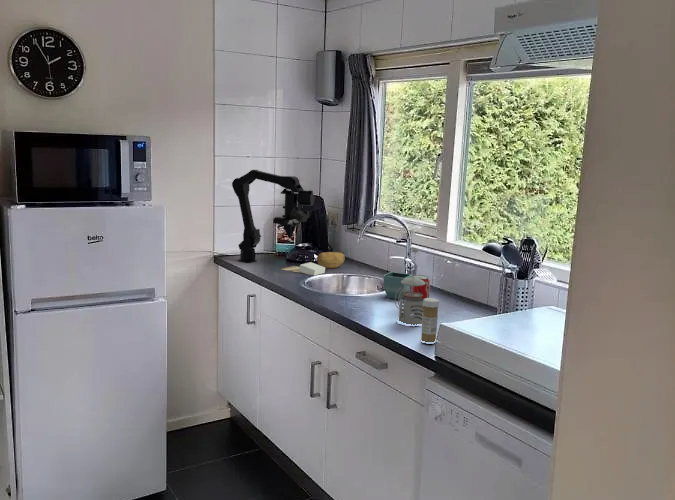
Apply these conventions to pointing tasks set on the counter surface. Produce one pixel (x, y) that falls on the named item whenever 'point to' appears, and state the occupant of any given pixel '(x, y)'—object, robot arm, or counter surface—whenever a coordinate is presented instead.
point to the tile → (311, 269)
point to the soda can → (422, 287)
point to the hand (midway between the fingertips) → (289, 237)
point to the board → (292, 269)
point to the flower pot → (395, 284)
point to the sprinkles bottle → (429, 319)
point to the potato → (330, 259)
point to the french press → (411, 301)
